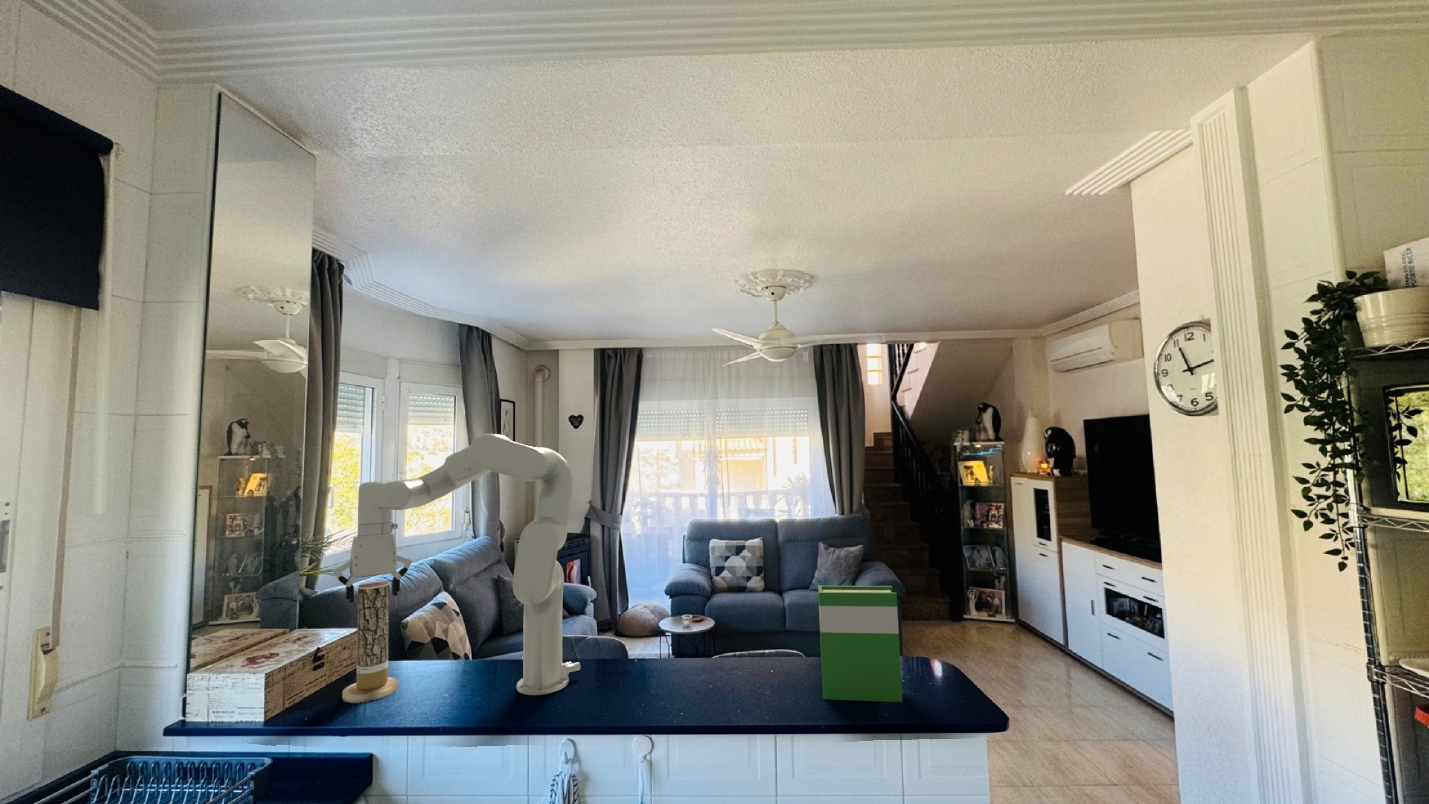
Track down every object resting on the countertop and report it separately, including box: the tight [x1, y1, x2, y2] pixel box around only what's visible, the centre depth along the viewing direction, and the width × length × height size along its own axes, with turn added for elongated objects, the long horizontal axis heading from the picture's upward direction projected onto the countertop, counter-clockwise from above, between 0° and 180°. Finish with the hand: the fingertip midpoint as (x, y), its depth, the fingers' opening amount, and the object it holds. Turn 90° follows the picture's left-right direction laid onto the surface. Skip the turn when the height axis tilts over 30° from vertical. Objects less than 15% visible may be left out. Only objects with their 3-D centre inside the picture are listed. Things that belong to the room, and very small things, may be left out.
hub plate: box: [341, 676, 399, 704], centre depth 145 cm, size 12×12×2 cm
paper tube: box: [355, 580, 390, 690], centre depth 146 cm, size 7×7×25 cm
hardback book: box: [817, 585, 903, 703], centre depth 137 cm, size 18×7×24 cm, turn 81°
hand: (373, 598), depth 147 cm, fingers open, 9 cm apart
